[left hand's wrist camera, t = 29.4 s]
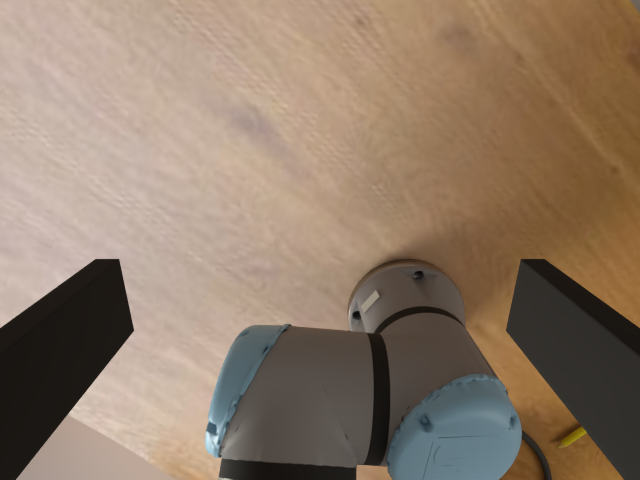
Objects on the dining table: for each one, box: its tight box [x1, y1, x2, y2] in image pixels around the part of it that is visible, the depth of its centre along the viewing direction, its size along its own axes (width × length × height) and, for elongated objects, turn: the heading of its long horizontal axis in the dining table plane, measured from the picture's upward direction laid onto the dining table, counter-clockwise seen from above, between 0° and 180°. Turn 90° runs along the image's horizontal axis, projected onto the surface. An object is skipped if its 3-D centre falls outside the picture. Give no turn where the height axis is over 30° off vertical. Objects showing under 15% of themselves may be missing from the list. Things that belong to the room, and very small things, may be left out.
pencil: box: [556, 426, 587, 449], centre depth 58 cm, size 16×1×1 cm, turn 140°
